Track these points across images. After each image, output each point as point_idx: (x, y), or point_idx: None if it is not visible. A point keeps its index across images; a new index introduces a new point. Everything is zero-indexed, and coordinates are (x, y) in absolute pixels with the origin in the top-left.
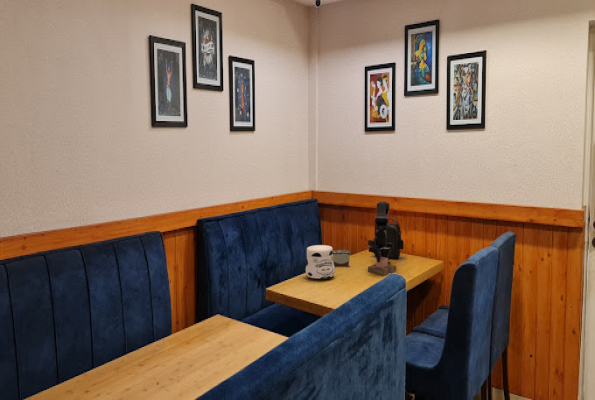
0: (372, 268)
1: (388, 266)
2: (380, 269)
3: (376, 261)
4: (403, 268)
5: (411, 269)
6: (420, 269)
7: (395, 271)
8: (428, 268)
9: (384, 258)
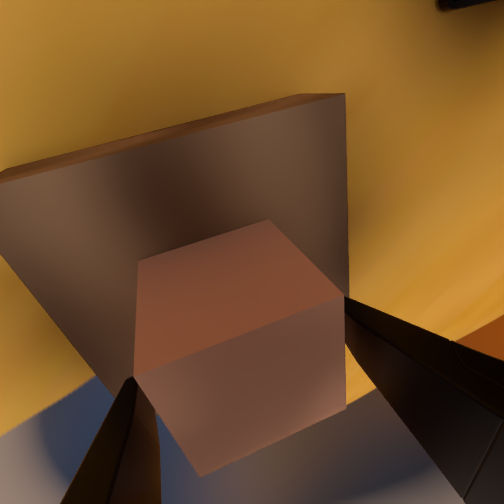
0: (36, 284)
1: None
2: (112, 394)
3: (139, 324)
4: (426, 250)
5: (431, 296)
6: (458, 317)
7: None
8: (495, 316)
9: (288, 417)
